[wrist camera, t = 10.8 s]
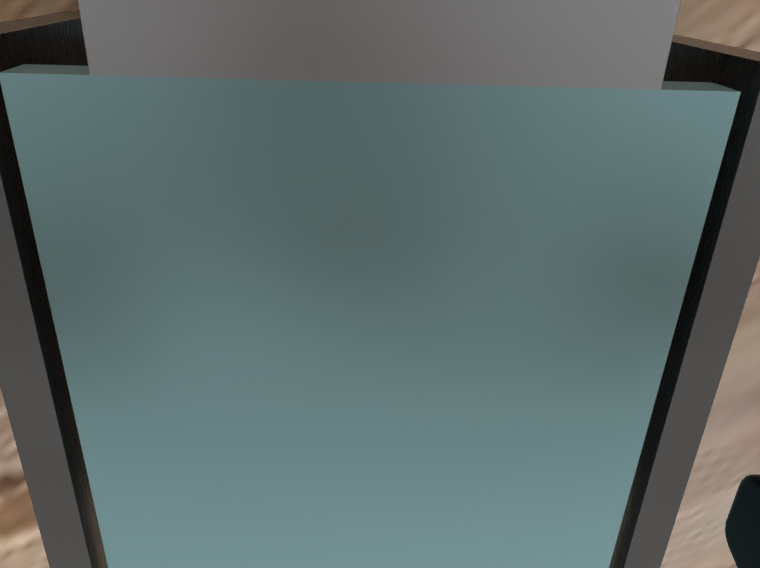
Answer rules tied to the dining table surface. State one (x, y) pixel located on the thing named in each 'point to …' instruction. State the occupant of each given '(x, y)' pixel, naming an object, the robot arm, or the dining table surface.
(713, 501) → the dining table surface
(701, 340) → the grey drawer box
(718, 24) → the dining table surface
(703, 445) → the dining table surface
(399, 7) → the sliding box lid
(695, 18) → the dining table surface
